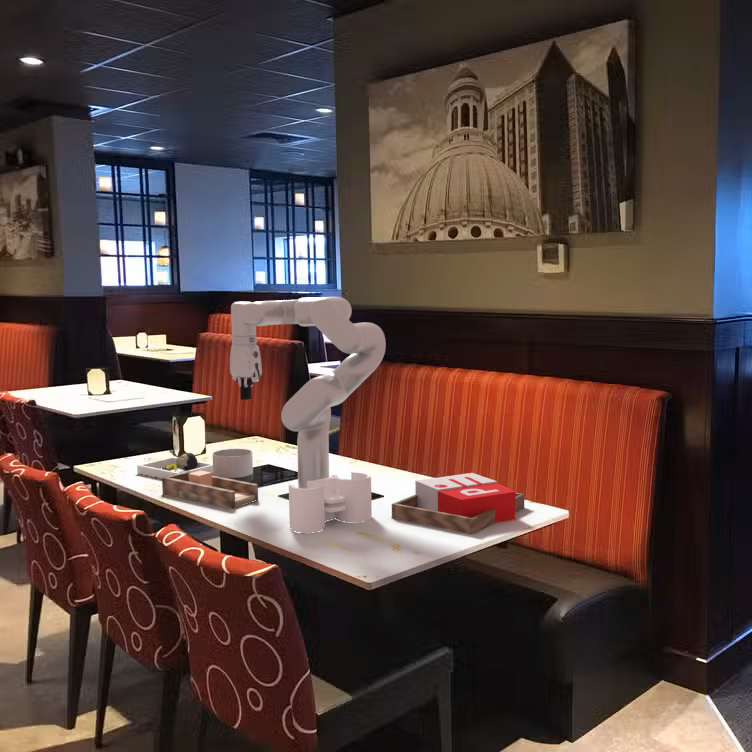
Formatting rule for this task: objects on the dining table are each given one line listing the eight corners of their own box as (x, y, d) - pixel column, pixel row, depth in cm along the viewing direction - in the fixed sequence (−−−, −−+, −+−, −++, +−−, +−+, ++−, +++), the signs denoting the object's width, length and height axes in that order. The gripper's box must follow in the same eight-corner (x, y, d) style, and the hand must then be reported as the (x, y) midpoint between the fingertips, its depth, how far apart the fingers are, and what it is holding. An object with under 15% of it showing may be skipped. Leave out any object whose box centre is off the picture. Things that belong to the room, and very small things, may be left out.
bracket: (305, 537, 215) (304, 491, 213) (285, 528, 222) (283, 484, 221) (379, 518, 231) (378, 476, 229) (357, 510, 238) (356, 470, 237)
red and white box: (520, 489, 228) (459, 498, 218) (520, 519, 228) (459, 529, 219) (472, 472, 248) (415, 480, 239) (472, 500, 249) (415, 508, 240)
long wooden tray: (258, 500, 250) (257, 484, 249) (231, 508, 241) (231, 492, 240) (189, 485, 268) (188, 470, 267) (162, 493, 259) (161, 477, 259)
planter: (258, 485, 268) (257, 454, 266) (220, 490, 262) (219, 458, 260) (245, 477, 279) (244, 447, 278) (208, 482, 273) (207, 451, 272)
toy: (149, 466, 284) (188, 447, 292) (155, 482, 286) (194, 464, 294) (158, 471, 277) (198, 452, 284) (165, 488, 279) (204, 468, 286)
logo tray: (524, 507, 239) (524, 494, 239) (473, 534, 215) (473, 519, 215) (447, 494, 254) (447, 481, 254) (391, 517, 230) (391, 503, 230)
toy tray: (215, 473, 285) (215, 464, 285) (179, 482, 272) (179, 473, 272) (173, 464, 298) (173, 456, 298) (137, 473, 285) (137, 465, 285)
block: (212, 488, 257) (211, 472, 256) (200, 491, 253) (199, 475, 252) (201, 485, 260) (200, 470, 259) (189, 489, 256) (188, 473, 255)
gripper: (270, 341, 256) (271, 399, 258) (236, 339, 265) (237, 395, 267) (252, 343, 250) (254, 402, 252) (218, 341, 259) (220, 398, 261)
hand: (246, 399), depth 260 cm, fingers closed
